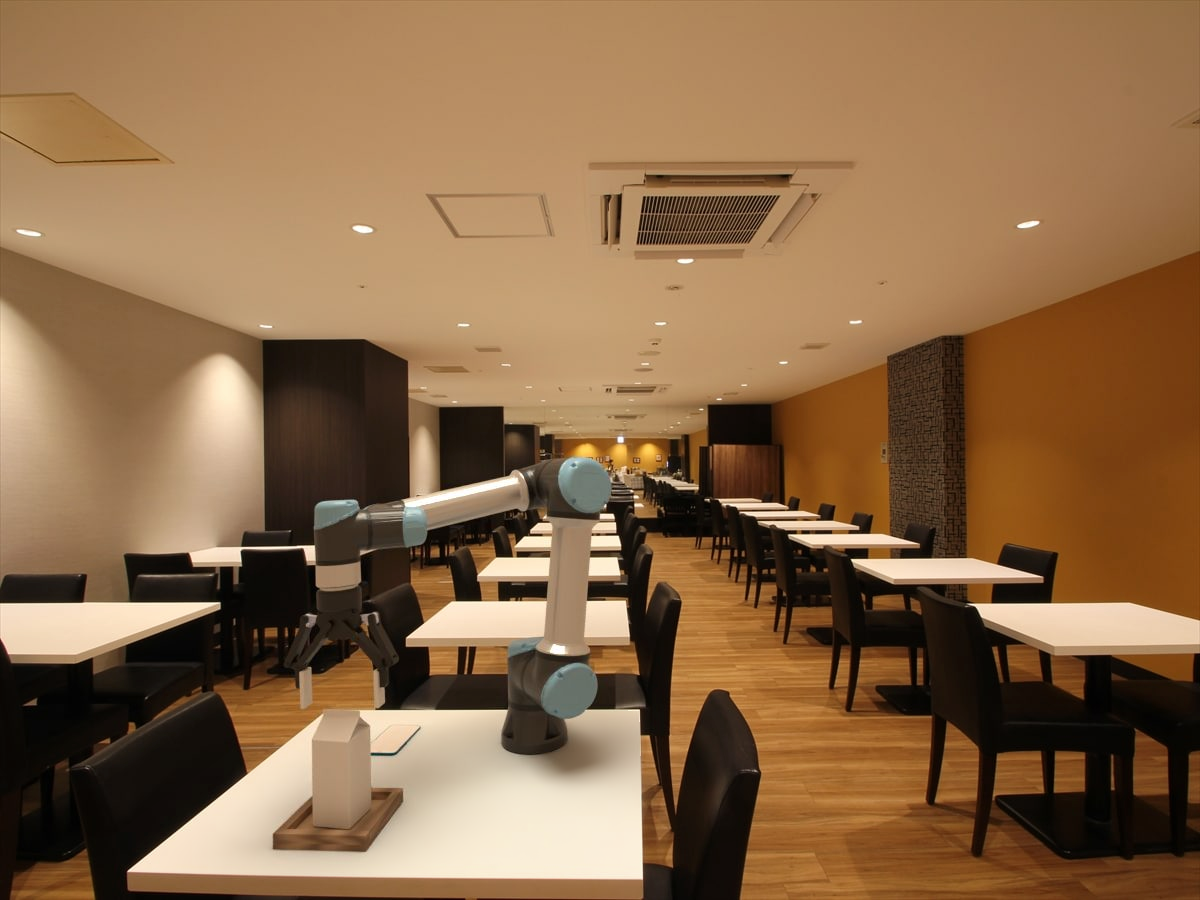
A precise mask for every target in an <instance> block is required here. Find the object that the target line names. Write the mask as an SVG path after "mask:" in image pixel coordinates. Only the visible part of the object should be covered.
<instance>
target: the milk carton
mask: <svg viewBox="0 0 1200 900" xmlns="http://www.w3.org/2000/svg"><path fill="white" fill-rule="evenodd" d="M322 712H323V713H322V716H321V717H322V718H321V719H320V722H318V723H319V724H318V725H317V727H316V730H315V732H314V734H313V735H312V737H311V773H312V774H311V780H312V781H311V783H312V784H311V787H312V788H311V791H312V795H311V796H312V798H313V826H316V827H328V828H339V829H350V828H351V827H352V826H353V825H354V824H355V823H356V822H358V821H359V820H360V819H361V818H362V817H363V816H364V815H365V814H366V813H367V812H368V811H369V810H370V809H371V788H372V766H371V765H372V761H371V760H372V758H371V757H372V756H371V725H370V724H369V723H368V722H367V721H366V720H364V719H363V718H362V717H361V710H358V709H357V710H354V709H336V708H335V709H334V708H323V709H322Z"/></svg>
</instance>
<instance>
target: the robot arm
mask: <svg viewBox="0 0 1200 900" xmlns="http://www.w3.org/2000/svg"><path fill="white" fill-rule="evenodd" d="M612 488H613V487H612V480H611V477H610V475H609V473H608V470H607V469H606V468H605V466H603V464H601V463H600V462H599V461H598V460H596V459H593V458H590V457H585V456H584V457H583V456H572V457H562V458H560V457H558V458H556V457H555V458H550V459H548V460H547V459H546V460H544V461H542V462H538V463H536V464H533V465H528V466H526V467H522V468H519V469H513V470H512V471H511V473H510V474H509V475H508V476H503V477H497V478H493V479H489V480H485V481H481V482H475V483H471V484H468V485H461V486H458V487H453V488H448V489H444V490H440V491H435V492H429V493H426V494H422V495H417V496H414V497H413V496H412V497H408V498H405V499H403V498H402V499H400V500H395V501H391V502H390V501H389V502H387V503H376V504H371V505H368V506H366V507H364V508H363V509H362V508H361V509H360V506H359V501H357V500H356V499H344V500H343V499H340V500H337V499H336V500H324V501H320V502H318V503H317V504H316V505H315V506H314V518H313V519H314V521H313V522H314V523H313V524H314V526H313V534H314V535H313V536H314V539H313V540H314V555H315V558H314V560H315V586H316V587H317V588H319V589H317V591H316V592H315V593H316V595H315V596H316V609H317V615H316V614H313V612H308V613H306V614H304V615H302V616H300V618H299V623H298V624H299V627H298V630H297V633H296V634H295V637H294V640H293V641H292V644H291V646H290V648H289V651H288V652H287V655H286V657H285V660H284V662H283V667H284V668H285V669H287V668H289V669H292V670H293V671H294V676H295V677H294V683H295V689H297V690H299V702H300V704H299V705H300V708H299V709H300V710H305V709H306V708H308V707H309V706H310V705H312V704H313V682H312V680H313V679H312V667H311V666H309V663H310V662H311V661H312V659H313V658H314V656H316V654H317V653H318V652H319V650H320V649H321V648H322V646H323V645H324V644H325V642H326V641H327V640H329V641H335V640H341V641H347V640H349V639H350V640H351V642H353V643H355V644H356V645H357V646H358V647H359V648H360V650H361V651H362V652H363V653H364V654H365V655H366V657H367V658H368V659H369V660H370V661H371V662H372V664H374V666H375V667H376V668H375V669H374V670H373V672H372V673H373V675H372V676H373V698H374V699H373V701H374V709H380V708H381V706H383V705H384V704H385V703H386V697H385V696H386V695H385V693H386V690H385V688H386V687H387V686H388V685H389V683H390V674H389V672H390V671H389V668H390V667H393V666H394V665H395V664H396V663H398V662H399V660H400V657H399V655H398V653H397V651H396V650H395V648H394V645H393V643H392V642H391V640H390V637H389V636H388V634H387V632H386V630H385V628H384V626H383V624H382V622H381V614H380V612H379V611H377V610H376V611H373V612H371V613H365V614H364V613H363V610H362V606H363V599H362V598H363V597H362V595H363V594H362V592H363V591H362V587H361V586H360V585H359V584H360V583H361V582H362V573H361V572H362V571H361V552H362V551H363V552H364V551H372V550H383V549H396V548H408V549H409V548H410V547H415V546H420V545H423V544H424V543H425V542H426V539H427V536H428V531H430V530H434V529H439V528H442V527H446V526H450V525H455V524H459V523H463V522H467V521H470V520H474V519H479V518H482V517H483V518H484V517H487V516H490V515H495V514H499V513H503V512H506V511H511V510H515V509H517V510H519V511H520V512H526V511H528V510H534V509H535V510H536V509H546V516H545V517H546V519H547V521H548V523H550V524H551V526H552V529H551V541H550V542H551V543H550V555H549V567H548V568H549V569H548V578H547V579H548V580H547V581H548V582H547V592H546V603H545V604H546V607H545V617H544V619H545V620H544V631H543V632H544V633H543V636H533V637H532V636H531V637H525V638H520V639H516V640H513V641H512V642H510V643H509V644H508V646H507V655H506V660H507V661H506V665H507V667H506V668H507V694H508V695H507V696H508V697H507V699H508V708H507V712H506V715H505V719H504V722H503V725H502V728H501V736H500V737H501V738H500V739H501V741H500V742H501V746H502V747H503V748H504V749H505V750H507V751H509V752H512V753H515V754H523V755H537V754H543V753H547V752H548V753H549V752H552V751H554V750H555V751H556V750H557V749H560V748H561V747H563V746H564V745H566V743H567V741H568V739H569V738H568V737H569V735H568V734H569V733H568V725H567V722H566V720H569V719H574V718H576V717H579V716H580V715H582V714H583V713H585V711H586V710H587V709H588V708H590V706H591V705H592V704H593V703H594V701H595V698H596V696H597V692H598V685H599V684H598V678H597V675H596V673H595V672H594V670H593V669H592V667H590V663H591V662H590V659H591V648H590V647H589V646H588V645H587V644H586V642H585V631H586V619H587V618H586V615H587V606H588V605H587V602H588V600H587V599H588V588H589V577H590V576H589V575H590V560H591V549H592V548H591V547H592V545H591V544H592V536H593V534H592V533H593V529H594V527H595V526H596V525H598V524H599V523H600V522H601V521H600V519H601V510H602V509H603V508H604V507H605V506H606V504H608V503H609V501H610V498H611V494H612ZM363 623H365V625H366V626H367V627H368V630H369V632H370V633H371V635H372V637H373V640H374V641H375V643H374V641H373V640H372V639H371V638H370V637H369V636H368V635H367V631H366V630H365V629H364V628H363V627H362V624H363ZM315 624H316V625H317V626H318V628H319V629H320V630H319V632H318V633H317V634H316V635H315V636H314V639H313V640H312V642H311V643H310V644H309V645H308V647H307V648H306V650H305V651H304V652H303V649H304V647H305V644H306V643H307V640H308V638H309V636H310V633H311V630H312V628H313V627H314V626H315ZM302 652H303V654H302ZM301 654H302V655H301ZM307 666H308V667H307Z"/></svg>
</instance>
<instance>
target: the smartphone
mask: <svg viewBox="0 0 1200 900" xmlns="http://www.w3.org/2000/svg"><path fill="white" fill-rule="evenodd" d="M420 730H421V725H418V724H416V725H415V724H413V725H412V724H392V725H389V726H388V727H387V728H386V729H385V730H384V731H382V732H381V733H380V734H379V735H378V736H377V737H376V738H375V739H374V740H373V741H372V742H370V744H371V757H372V756H374V757H375V756H376V757H380V756H381V757H393V756H396V755H397V754H399V752H400V751H401V750H403V748H404V747H405V746H406V745H408V743H409V742H410V741H411V739H413V738H414V737H415V735H416V734H417V733H418V732H419V731H420Z"/></svg>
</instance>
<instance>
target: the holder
mask: <svg viewBox="0 0 1200 900" xmlns="http://www.w3.org/2000/svg"><path fill="white" fill-rule="evenodd" d="M403 803H404V788H403V787H371V809H370V810H369V811H368V812H367V813H366V814H365V815H364V816H363V817H362V818H361V819H360V820H359V821H358V822H356V823H355V824H354V825H353V826H352V827H351V828H350V829H339V828H328V827H316V826H313V798H312V795H311V796H310V797H309V798H308V799H307V800H306V801H305V802H304V803H303V804H302V805H300V807H299V808H298V809H297V810H296V811H295V812H294V813H293V814H291V815H290V816H289V817H288V818H287V819H286V820H285V821H284V822H283V823H282V824H281V825H280V826H279V827H278V828H277V829H276V830H275V831H274V832H273V833H272V849H273V850H294V851H295V850H297V851H298V850H299V851H339V852H342V851H343V852H344V851H345V852H367V851H368V849H369V848H370V847H371V845H372V844H373V842H374V841H375V840H376V838H377V837H378V836H379V835H380V833H381V832H382V830H383V829H385V826H386V825H387V824H388V822H389V821H390V820H391V818H392V817H393V815H395V813H396V812H397V810H398V809H399V808H400V806H401V805H402V804H403Z"/></svg>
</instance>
